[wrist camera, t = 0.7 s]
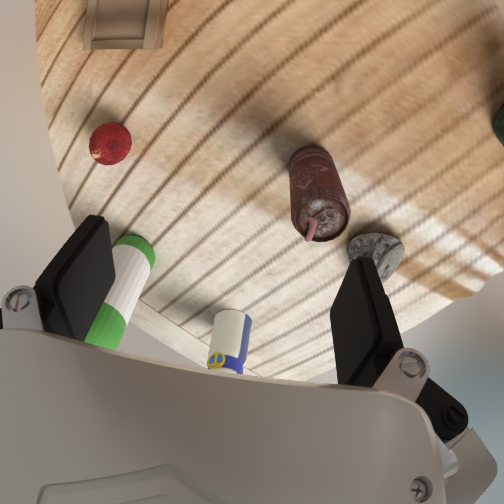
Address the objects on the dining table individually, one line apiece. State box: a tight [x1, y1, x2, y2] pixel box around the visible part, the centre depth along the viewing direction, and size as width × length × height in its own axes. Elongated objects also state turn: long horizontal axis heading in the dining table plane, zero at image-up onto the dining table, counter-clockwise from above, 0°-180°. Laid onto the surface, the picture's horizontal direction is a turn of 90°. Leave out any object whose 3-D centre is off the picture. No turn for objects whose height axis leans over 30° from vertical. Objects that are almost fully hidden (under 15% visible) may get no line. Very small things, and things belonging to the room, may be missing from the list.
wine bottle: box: [84, 235, 155, 350], centre depth 42 cm, size 8×8×30 cm
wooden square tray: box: [83, 0, 169, 50], centre depth 28 cm, size 10×10×3 cm
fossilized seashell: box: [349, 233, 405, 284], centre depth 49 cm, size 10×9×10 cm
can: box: [289, 146, 351, 242], centre depth 36 cm, size 6×6×14 cm
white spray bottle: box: [207, 309, 252, 374], centre depth 54 cm, size 8×9×25 cm
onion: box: [89, 122, 132, 165], centre depth 38 cm, size 6×6×8 cm
